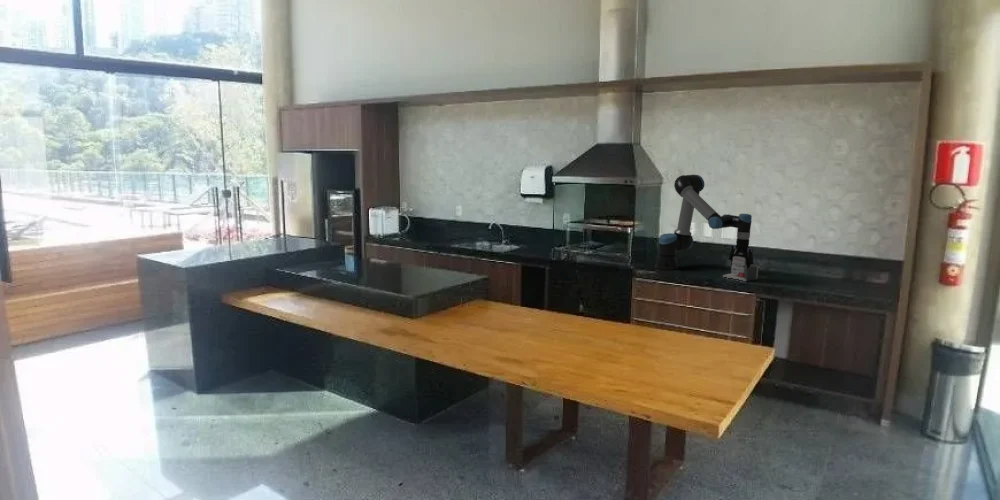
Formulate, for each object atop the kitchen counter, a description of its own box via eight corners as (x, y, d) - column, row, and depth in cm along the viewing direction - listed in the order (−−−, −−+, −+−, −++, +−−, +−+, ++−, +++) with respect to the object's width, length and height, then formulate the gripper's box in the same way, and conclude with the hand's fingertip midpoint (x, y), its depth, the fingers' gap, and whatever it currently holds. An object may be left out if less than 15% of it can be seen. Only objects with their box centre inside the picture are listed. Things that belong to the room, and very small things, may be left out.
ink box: (747, 275, 370) (749, 257, 367) (743, 277, 367) (745, 258, 364) (734, 273, 376) (736, 255, 374) (730, 274, 373) (732, 256, 371)
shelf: (722, 277, 375) (723, 263, 373) (735, 274, 382) (736, 261, 380) (745, 282, 362) (746, 268, 360) (757, 279, 369) (758, 265, 367)
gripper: (724, 236, 373) (721, 270, 378) (755, 241, 356) (751, 277, 360) (731, 235, 377) (728, 268, 382) (762, 240, 360) (758, 275, 365)
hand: (739, 272), depth 371 cm, fingers closed on ink box, 9 cm apart
